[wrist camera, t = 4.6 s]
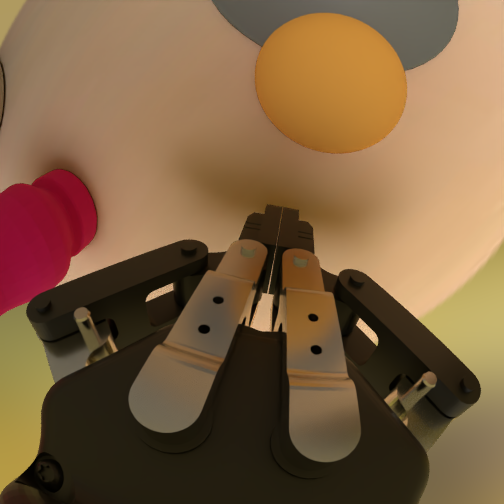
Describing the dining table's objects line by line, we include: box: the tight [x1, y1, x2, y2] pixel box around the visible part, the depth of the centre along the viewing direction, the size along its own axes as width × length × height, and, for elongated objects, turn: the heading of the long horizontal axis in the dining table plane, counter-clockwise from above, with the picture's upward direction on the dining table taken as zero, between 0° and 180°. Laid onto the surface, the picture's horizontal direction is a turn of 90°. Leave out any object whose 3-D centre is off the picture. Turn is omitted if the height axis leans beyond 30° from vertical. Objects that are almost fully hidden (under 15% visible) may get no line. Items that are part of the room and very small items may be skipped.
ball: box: [255, 13, 407, 153], centre depth 8 cm, size 6×6×6 cm
